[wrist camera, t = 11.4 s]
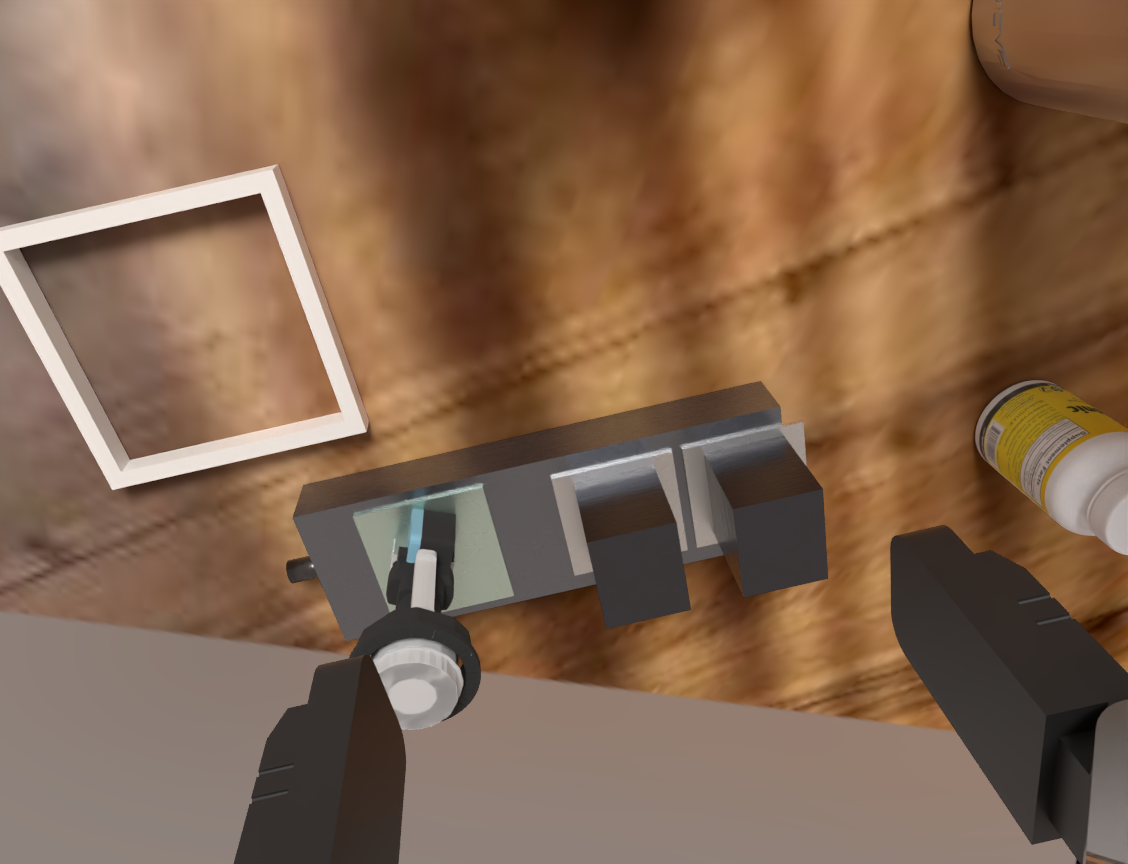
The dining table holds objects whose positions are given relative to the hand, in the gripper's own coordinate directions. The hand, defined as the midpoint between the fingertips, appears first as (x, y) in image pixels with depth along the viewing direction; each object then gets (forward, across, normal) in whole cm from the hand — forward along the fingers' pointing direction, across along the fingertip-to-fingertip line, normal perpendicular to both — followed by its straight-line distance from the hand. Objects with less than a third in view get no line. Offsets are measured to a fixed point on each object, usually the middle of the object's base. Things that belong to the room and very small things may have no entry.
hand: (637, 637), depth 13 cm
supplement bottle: (+28, -24, +17) cm, 41 cm away
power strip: (+28, +2, +15) cm, 32 cm away
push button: (+25, +9, +15) cm, 30 cm away
